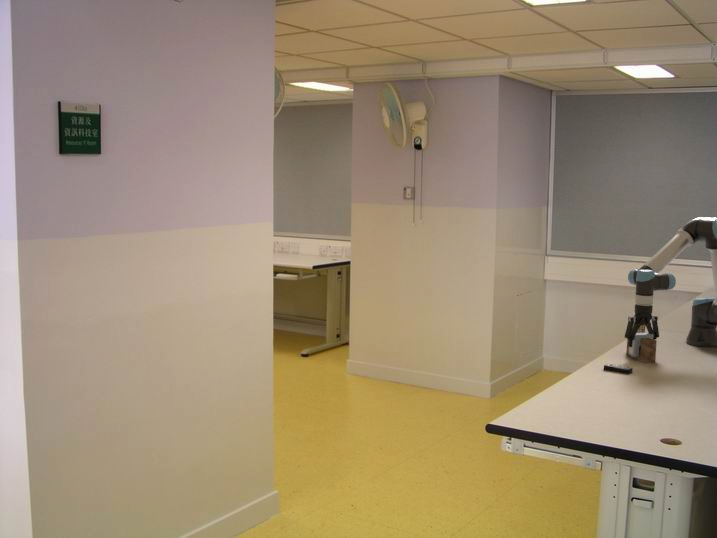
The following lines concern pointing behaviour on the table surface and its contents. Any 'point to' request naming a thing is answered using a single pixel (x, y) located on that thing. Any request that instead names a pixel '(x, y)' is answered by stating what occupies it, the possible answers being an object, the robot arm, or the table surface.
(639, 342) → the grey slotted block
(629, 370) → the multiport hub
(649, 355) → the walnut notched block
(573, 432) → the table surface
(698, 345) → the robot arm
